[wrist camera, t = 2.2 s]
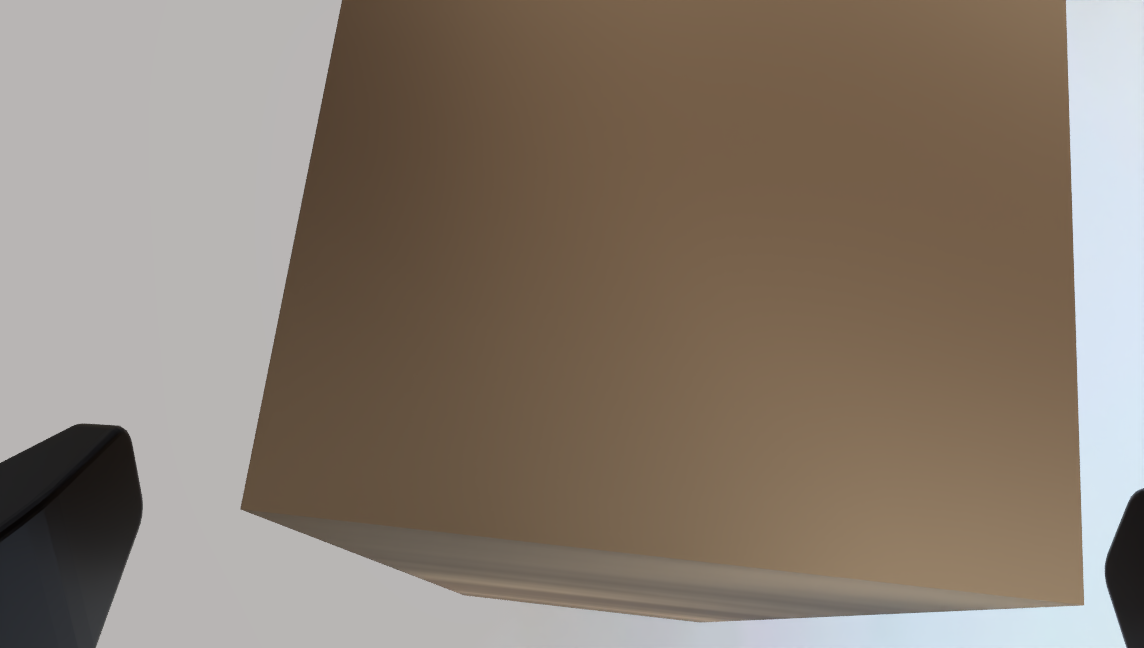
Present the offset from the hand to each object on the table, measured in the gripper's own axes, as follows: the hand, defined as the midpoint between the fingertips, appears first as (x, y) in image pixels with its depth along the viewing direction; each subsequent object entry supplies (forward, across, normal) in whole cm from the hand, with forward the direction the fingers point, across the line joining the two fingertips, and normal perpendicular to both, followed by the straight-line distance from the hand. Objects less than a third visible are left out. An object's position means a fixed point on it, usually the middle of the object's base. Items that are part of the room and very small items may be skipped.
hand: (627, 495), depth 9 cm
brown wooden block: (+7, 0, +5) cm, 9 cm away
